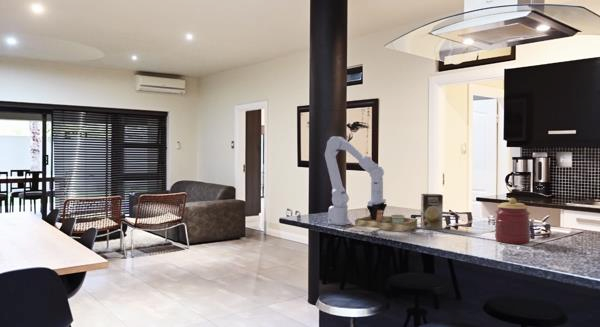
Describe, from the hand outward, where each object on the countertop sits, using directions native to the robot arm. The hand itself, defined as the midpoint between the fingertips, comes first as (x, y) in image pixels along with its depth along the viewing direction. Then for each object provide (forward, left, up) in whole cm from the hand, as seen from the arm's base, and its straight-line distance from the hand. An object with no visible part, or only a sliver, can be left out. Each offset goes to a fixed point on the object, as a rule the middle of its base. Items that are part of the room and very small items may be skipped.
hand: (376, 219), depth 226 cm
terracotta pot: (0, 0, -2) cm, 2 cm away
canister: (+62, -1, -4) cm, 62 cm away
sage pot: (+11, 0, -3) cm, 12 cm away
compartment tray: (+5, +1, -3) cm, 6 cm away
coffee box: (+24, +9, -4) cm, 26 cm away
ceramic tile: (0, -13, -3) cm, 13 cm away
